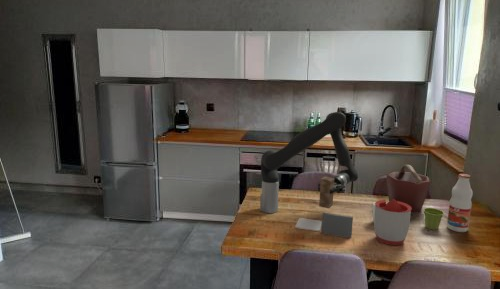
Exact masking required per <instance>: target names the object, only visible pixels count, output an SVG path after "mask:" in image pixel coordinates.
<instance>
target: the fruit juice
mask: <svg viewBox="0 0 500 289" xmlns="http://www.w3.org/2000/svg"><path fill="white" fill-rule="evenodd" d="M470 178H471V175H470V174H467V173H459V174H458V180H457V182H456V183H455V185H454V186H453V187H452V189H451V198H450V200H449V206H448V213H447V219H446V220H447V222H446V226H447V227H446V228H448V229H449V230H451V231H454V232H458V233H466V232H468V231H469V227H470V226H469V225H470V220H471V211H472V198H473V195H474V192H473V190H472V187H471V183H470Z"/></svg>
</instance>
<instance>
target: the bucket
mask: <svg viewBox="0 0 500 289" xmlns="http://www.w3.org/2000/svg"><path fill="white" fill-rule="evenodd" d="M407 169H408V171H406V170H407ZM430 183H431V180H430V178H429V176H426V175H424V174H420V173H417V172H416V170H415V169H414V167H413V166H412V165H410V164H402V166H401V168H400V171H393V172H390V173H388V174H386V186H387V196H388V202H389V201H391V200H392V199H395V200H396V201H400V202H403V203H406V204H408V205H410V206H411V208H412V210H411V214H415V213H421V212H422V209H423V206H424V204H425V200H426V198H427V196H428V195H427V194H428V192H429V189H430Z"/></svg>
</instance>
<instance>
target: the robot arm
mask: <svg viewBox="0 0 500 289" xmlns="http://www.w3.org/2000/svg"><path fill="white" fill-rule="evenodd" d="M346 122H347V117H346V115H345V113H342V112H340V111H335V112H330V113H328V114H327V115H326V117H325V119H324V120H323V121H321V122H320V123H318V124H316V125H314V126H310V127H308V128H306V129H304V130H303V131H301V132H299V133H298V134H296V135H295V136H294V137H292V139H291V140H290V141H289V142H288V143H287V144H286V145H285V146H284V147H283V148H281V149H279V150H277V151H276V152H275V151H272V150H266V151H264V152H263V154H262V156H261V158H260V159H261V160H260V173H261V193H260V204H259V211H260V212H262V213H266V214H275V213H277V212H278V210H279V189H280V188H279V186H280V184H279V182H280V176H279V173H278V169H279V168H281V167H282V166H283V165H285V164H286V163H287V162H288V161H290V160H291V159H292V158H294V157H296V156H298V155H299V154H300V153H302V152H304V151H306V150H307V149H309V148H311V147H313V145H315V144H316V143H318V142H319V141H320V140H322V139H324V137H326V136H328V135H329V134H330V137H331V140H332V143H333V146H334V150H335V155H336V158H337V163H338V165H339V166H340V167H346V168H347V169H342V170H339V171H338V173H337V174H335V175H334V176H331V178H335V179H334V188H332V189H330V194H332V193H333V194H334V193H335V194H336V193H337V194H340V193H343V192H345V191H346V186H347V185H348V184H349V183H351V182H352V183H353V182H356V181H357V180H358V179H359V173H358V171H357V169H356V168H355V166H354V164H353V162H352V158H351V155H350V151H349V147H348V145H347V143H346V141H345V139H344V137H343V134H342V128H343V127H344V126H345V124H346ZM320 184H321V180H319V182H318V184H317V190H318V192H319V193H320Z"/></svg>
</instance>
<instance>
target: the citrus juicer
mask: <svg viewBox="0 0 500 289" xmlns="http://www.w3.org/2000/svg"><path fill="white" fill-rule="evenodd" d="M375 202H376V203H375V205H376V207H375V218H374V223H373V225H374V226H373V228H374V232H375V234H374V235H375V237H376V239H377V240H378V241H379V242H381V243H382V244H386V245H390V246H391V245H392V246H400V245H402V244H404V242H405V240H406V239H407V238H406V237H407V235H408V233H409V228H410V222H411V221H410V220H411V214H412V213H411V210H412V208H411V206H410V205H408V204H406V203H403V202H400V201H396V200H395V199H392V200H391V201H389V200H388V202H387V201H386V200H385V199H380V200H377V201H375ZM386 203H387V204H386Z"/></svg>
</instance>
